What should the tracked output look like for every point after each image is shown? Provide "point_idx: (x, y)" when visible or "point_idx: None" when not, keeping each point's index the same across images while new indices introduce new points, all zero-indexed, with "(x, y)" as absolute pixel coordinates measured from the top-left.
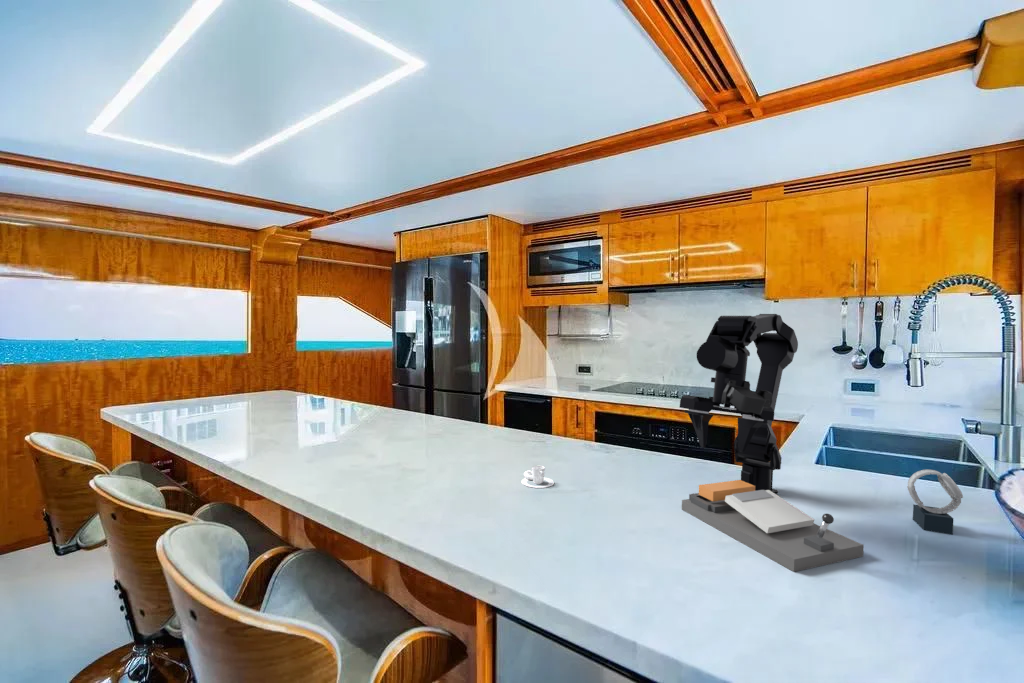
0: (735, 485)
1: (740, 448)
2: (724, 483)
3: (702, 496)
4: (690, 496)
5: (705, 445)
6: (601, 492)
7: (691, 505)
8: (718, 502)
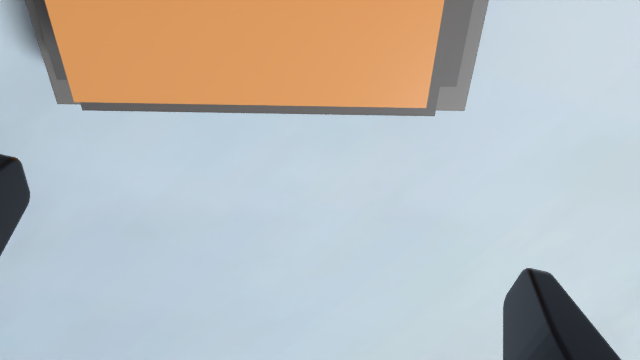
0: (186, 25)
1: (9, 209)
2: (236, 79)
3: None
4: (434, 102)
5: (536, 282)
6: (594, 302)
7: (478, 41)
8: None
